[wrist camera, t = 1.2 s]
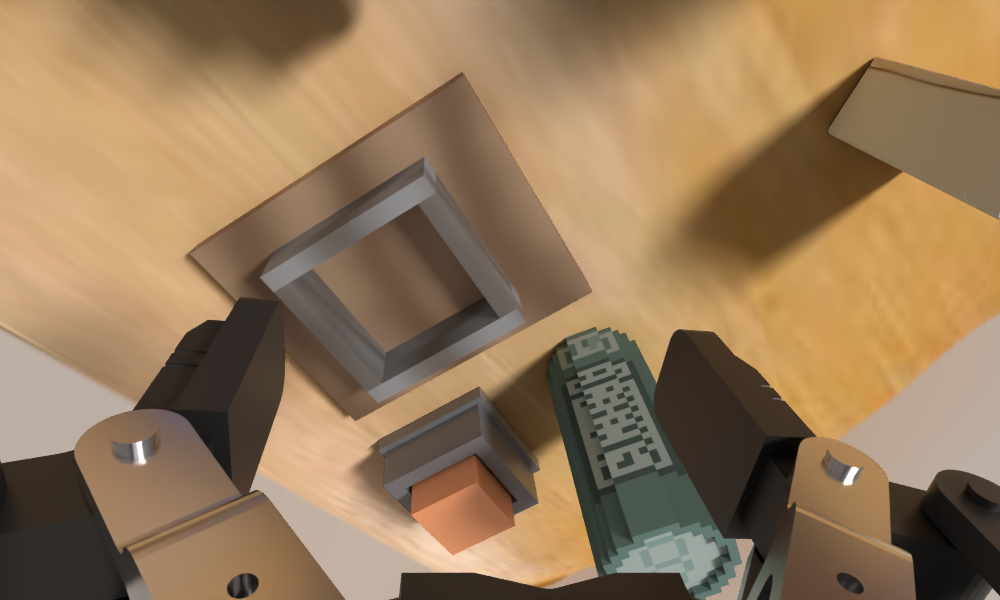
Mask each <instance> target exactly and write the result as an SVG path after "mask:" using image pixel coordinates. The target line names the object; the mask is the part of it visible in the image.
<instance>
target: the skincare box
mask: <svg viewBox="0 0 1000 600" xmlns="http://www.w3.org/2000/svg"><path fill="white" fill-rule="evenodd" d="M828 132H829V134H830V135H832V136H834V137H836V138H838V139H840V140H842V141H844V142H846V143H848V144H850V145H852V146H854V147H856V148H858V149H860V150H862V151H864V152H866V153H868V154H870V155H872V156H874V157H876V158H878V159H879V160H881V161H883V162H885V163H887V164H889V165H891V166H893V167H895V168H897V169H899V170H901V171H903V172H905V173H907V174H909V175H911V176H913V177H915V178H917V179H919V180H921V181H923V182H925V183H927V184H929V185H931V186H933V187H935V188H937V189H939V190H941V191H943V192H945V193H947V194H949V195H951V196H953V197H955V198H957V199H959V200H961V201H963V202H964V203H966V204H968V205H970V206H972V207H974V208H976V209H978V210H980V211H982V212H984V213H986V214H988V215H990V216H992V217H994V218H996V219H998V220H1000V89H998V88H994V87H990V86H987V85H983V84H979V83H975V82H971V81H968V80H964V79H960V78H957V77H953V76H949V75H945V74H941V73H938V72H934V71H930V70H926V69H922V68H919V67H915V66H911V65H907V64H903V63H899V62H895V61H891V60H887V59H883V58H879V57H877V58H875V59H874V60H873V62H872V63H871V65H870V66H869V68H868V69H867V71H866V72H865V74H864V75H863V77H862V78H861V80H860V81H859V83H858V84H857V86H856V87H855V89H854V90H853V92H852V93H851V95H850V97H849V98H848V100H847V101H846V103H845V104H844V106H843V107H842V109H841V110H840V112H839V113H838V115H837V116H836V118H835V120H834V121H833V123H832V124H831V126H830V127H829V130H828Z"/></svg>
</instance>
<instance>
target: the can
mask: <svg viewBox="0 0 1000 600" xmlns="http://www.w3.org/2000/svg"><path fill="white" fill-rule="evenodd" d="M566 341H567V343H566V344H563V345H561V346H558V347H555V348H556V351H557V353H554V354H551V355H552V358H553V359H552V360H550V361H548V365H549V369H550V371H549V372H546V376H547V380H548V383H549V387H550V391H551V395H552V399H553V403H554V407H555V411H556V414H557V418H558V422H559V426H560V430H561V434H562V438H563V441H564V445H565V449H566V453H567V457H568V461H569V465H570V468H571V472H572V476H573V480H574V484H575V488H576V492H577V495H578V499H579V503H580V507H581V511H582V515H583V519H584V522H585V526H586V530H587V534H588V538H589V542H590V546H591V550H592V553H593V557H594V561H595V565H596V569H597V572H598V577H601V576H605V575H608V574H612V573H680V575H681V577H682V579H683V581H684V584H685V586H686V588H687V590H688V593H689V595H690V597H694V598H698V599H700V600H706V599H705V597H707V596H711V595H714V594H717V593H720V592H722V591H721V588H720V587H722V586H725V585H728V584H729V583H728V580H727V579H730V578H733V577H736V574H735V571H734V567H733V566H735V565H739V564H742V561H741V558H740V554H739V551H738V547H737V544H736V540H735V539H723V537H722V535H721V533H720V531H719V530H718V528H717V526H716V524H715V522H714V521H713V519H712V517H711V515H710V513H709V512H708V510H707V508H706V506H705V505H704V503H703V501H702V499H701V497H700V496H699V494H698V492H697V490H696V488H695V487H694V485H693V483H692V481H691V479H690V478H689V476H688V474H687V472H686V471H685V469H684V467H683V465H682V463H681V462H680V460H679V458H678V456H677V454H676V453H675V451H674V449H673V447H672V446H671V444H670V442H669V440H668V438H667V437H666V435H665V433H664V431H663V429H662V428H661V426H660V424H659V422H658V420H657V418H656V416H655V412H654V392H655V388H656V385H657V383H656V381H655V379H654V377H653V375H652V373H651V371H650V370H649V368H648V366H647V364H646V362H645V360H644V358H643V356H642V354H641V352H640V350H639V348H638V346H637V344H636V342H635V340H634V341H631V342H630V341H629V339H628V337H627V335H626V333H623V334H621V335H620V334H619V332H618V330H617V331H614V332H612V331H611V329H610V328H607V329H604V330H601V331H599V332H598V331H597V329H596V327H594V328H592V329H589V330H586V331H584V332H581V333H578V334H575V335H573V336H570V337H567V338H566Z"/></svg>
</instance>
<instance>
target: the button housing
mask: <svg viewBox="0 0 1000 600" xmlns="http://www.w3.org/2000/svg"><path fill="white" fill-rule="evenodd" d="M378 452H379V453H380V454H381V455H382V456H383V457H384V458H385V469H384V479H383V487H384V488H385V489H386V490H387V491H388V492H389V493H390V494H391V495H392V496H393V497H394V498H395V499H396V500H397V501H399V502H400V503H401V504H402V505H403V506H404V507H405V508H406V509H407V510H408V511H409V512H410V513H411V502H412V485H414V484H416V483H418V482H420V481H422V480H424V479H426V478H427V477H429V476H431V475H433V474H435V473H437V472H439V471H441V470H443V469H445V468H447V467H449V466H451V465H453V464H455V463H457V462H459V461H461V460H463V459H465V458H467V457H469V456H471V455H473V454H475V453H476V454H477V455H478V456H479V457H480V458H481V459H482V461H483V462H484V463H485V464H486V465H487V466H488V467H489V469H490V470H491V471H492V472H493V473H494V474H495V475H496V477H497V478H498V479H499V480H500V481H501V482H502V483H503V485H504V486H505V487H506V488H507V489H508V490H509V491H510V493H511V500H512V507H513V515H515V514H517V513H519V512H521V511H523V510H525V509H527V508H529V507H532V506H534V505H536V504H538V498H537V493H536V487H535V482H534V476H533V473H535V472H537V471H539V470H540V468H539V463H538V459H537V458H536V457H535V456H534V454H533V453H532V452H531V451H530V449H529V448H528V447H527V446H526V444H525V443H524V442H523V441H522V439H521V438H520V437H519V436H518V434H517V433H516V432H515V431H514V429H513V428H512V427H511V426H510V424H509V423H508V422H507V421H506V419H505V418H504V417H503V416H502V414H501V413H500V412H499V411H498V409H497V408H496V407H495V406H494V404H493V403H492V402H491V401H490V399H489V398H488V397H487V396H486V394H485V393H484V392H483V391H482V390H481V388H480V387H478V388H476V389H474V390H472V391H470V392H468V393H467V394H465V395H463V396H461V397H459V398H457V399H455V400H453V401H452V402H450V403H448V404H446V405H444V406H442V407H440V408H438V409H437V410H435V411H433V412H431V413H429V414H427V415H425V416H423V417H422V418H420V419H418V420H416V421H414V422H412V423H410V424H408V425H407V426H405V427H403V428H401V429H399V430H397V431H395V432H393V433H392V434H390V435H388V436H386V437H384V438H382V439H380V440H379V444H378Z"/></svg>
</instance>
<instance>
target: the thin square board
mask: <svg viewBox="0 0 1000 600" xmlns="http://www.w3.org/2000/svg"><path fill="white" fill-rule="evenodd" d="M190 255H191V256H192V257H193V258H194V259H195V260H196V261H197V262H198V263H199V264H200V265H201V266H202V267H203V268H204V269H205V270H206V271H207V272H208V273H209V274H210V275H211V276H212V277H213V278H214V279H215V280H216V281H217V282H218V283H219V284H220V285H221V286H222V287H223V288H224V289H225V290H226V291H227V292H228V293H229V294H230V295H231V296H232V297H233V298H234V299H235V300H236V301H238V299H239V298H240V297H255V298H268V299H281V300H282V301H283V305H284V341H285V351H286V352H287V353H288V354H289V355H290V356H291V357H292V358H293V359H294V360H295V361H296V362H297V363H298V364H299V365H300V366H301V367H302V368H303V369H304V370H305V371H306V372H307V373H308V374H309V375H310V376H311V377H312V378H313V379H314V380H315V381H316V382H317V383H318V384H319V385H320V386H321V387H322V388H323V389H324V390H325V391H326V392H327V393H328V394H329V395H330V396H331V397H332V398H333V399H334V400H335V401H336V402H337V403H338V404H339V405H340V406H341V407H342V408H343V409H344V410H345V411H346V412H347V413H348V414H349V415H350V416H351V417H352V418H353V419H354V420H355V421H356V420H358V419H360V418H362V417H364V416H366V415H368V414H369V413H371V412H373V411H375V410H377V409H379V408H380V407H382V406H384V405H386V404H388V403H390V402H391V401H393V400H395V399H397V398H399V397H401V396H402V395H404V394H406V393H408V392H410V391H412V390H413V389H415V388H417V387H419V386H421V385H423V384H424V383H426V382H428V381H430V380H432V379H434V378H435V377H437V376H439V375H441V374H443V373H445V372H446V371H448V370H450V369H452V368H454V367H456V366H457V365H459V364H461V363H463V362H465V361H467V360H468V359H470V358H472V357H474V356H476V355H478V354H479V353H481V352H483V351H485V350H487V349H489V348H490V347H492V346H494V345H496V344H498V343H500V342H501V341H503V340H505V339H507V338H509V337H511V336H512V335H514V334H516V333H518V332H520V331H522V330H524V329H525V328H527V327H529V326H531V325H533V324H535V323H536V322H538V321H540V320H542V319H544V318H546V317H547V316H549V315H551V314H553V313H555V312H557V311H558V310H560V309H562V308H564V307H566V306H568V305H569V304H571V303H573V302H575V301H577V300H579V299H580V298H582V297H584V296H586V295H588V294H590V293H591V292H592V290H591V288H590V286H589V284H588V282H587V280H586V278H585V277H584V275H583V273H582V272H581V270H580V268H579V267H578V265H577V263H576V262H575V260H574V258H573V257H572V255H571V253H570V252H569V250H568V248H567V247H566V245H565V243H564V241H563V240H562V238H561V236H560V235H559V233H558V231H557V230H556V228H555V226H554V225H553V223H552V221H551V220H550V218H549V216H548V215H547V213H546V211H545V210H544V208H543V206H542V205H541V203H540V201H539V200H538V198H537V196H536V195H535V193H534V191H533V189H532V188H531V186H530V184H529V183H528V181H527V179H526V178H525V176H524V174H523V173H522V171H521V169H520V168H519V166H518V164H517V163H516V161H515V159H514V158H513V156H512V154H511V153H510V151H509V149H508V148H507V146H506V144H505V143H504V141H503V139H502V137H501V136H500V134H499V132H498V131H497V129H496V127H495V126H494V124H493V122H492V121H491V119H490V117H489V116H488V114H487V112H486V111H485V109H484V107H483V106H482V104H481V102H480V101H479V99H478V97H477V96H476V94H475V92H474V90H473V89H472V87H471V85H470V84H469V82H468V80H467V79H466V77H465V75H464V74H463V72H462V73H460V74H459V75H457V76H456V77H454V78H453V79H451V80H450V81H448V82H447V83H445V84H444V85H442V86H441V87H439V88H437V89H436V90H434V91H433V92H431V93H430V94H428V95H427V96H425V97H424V98H422V99H421V100H419V101H418V102H416V103H414V104H413V105H411V106H410V107H408V108H407V109H405V110H404V111H402V112H401V113H399V114H398V115H396V116H395V117H393V118H391V119H390V120H388V121H387V122H385V123H384V124H382V125H381V126H379V127H378V128H376V129H375V130H373V131H372V132H370V133H368V134H367V135H365V136H364V137H362V138H361V139H359V140H358V141H356V142H355V143H353V144H352V145H350V146H349V147H347V148H345V149H344V150H342V151H341V152H339V153H338V154H336V155H335V156H333V157H332V158H330V159H329V160H327V161H326V162H324V163H322V164H321V165H319V166H318V167H316V168H315V169H313V170H312V171H310V172H309V173H307V174H306V175H304V176H302V177H301V178H299V179H298V180H296V181H295V182H293V183H292V184H290V185H289V186H287V187H286V188H284V189H283V190H281V191H279V192H278V193H276V194H275V195H273V196H272V197H270V198H269V199H267V200H266V201H264V202H263V203H261V204H260V205H258V206H256V207H255V208H253V209H252V210H250V211H249V212H247V213H246V214H244V215H243V216H241V217H240V218H238V219H237V220H235V221H233V222H232V223H230V224H229V225H227V226H226V227H224V228H223V229H221V230H220V231H218V232H217V233H215V234H214V235H212V236H210V237H209V238H207V239H206V240H204V241H203V242H201V243H200V244H198V245H197V246H196V248H195V249H194V250H193V251H192V253H191V254H190Z"/></svg>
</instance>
